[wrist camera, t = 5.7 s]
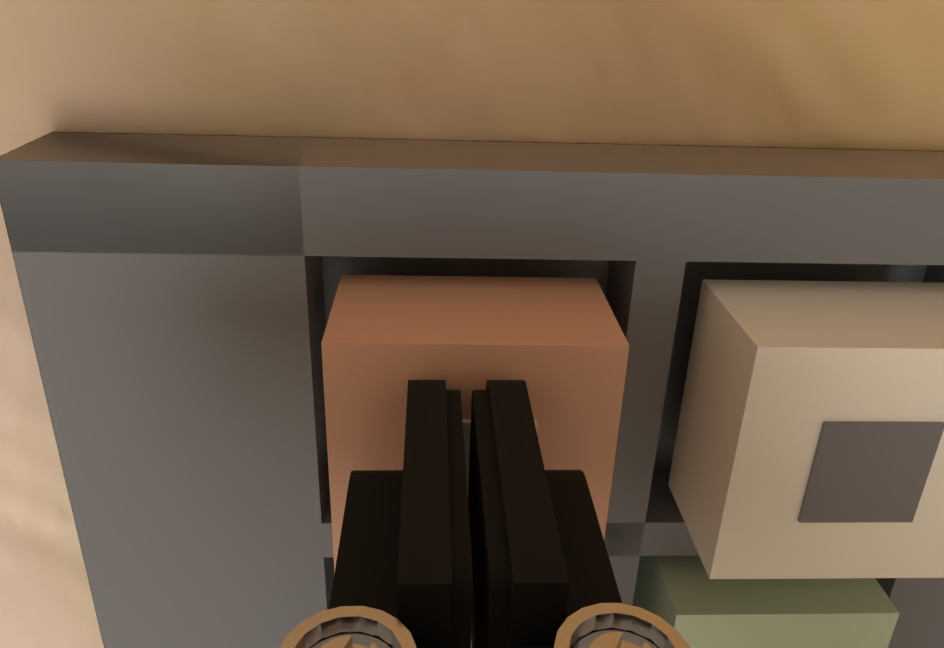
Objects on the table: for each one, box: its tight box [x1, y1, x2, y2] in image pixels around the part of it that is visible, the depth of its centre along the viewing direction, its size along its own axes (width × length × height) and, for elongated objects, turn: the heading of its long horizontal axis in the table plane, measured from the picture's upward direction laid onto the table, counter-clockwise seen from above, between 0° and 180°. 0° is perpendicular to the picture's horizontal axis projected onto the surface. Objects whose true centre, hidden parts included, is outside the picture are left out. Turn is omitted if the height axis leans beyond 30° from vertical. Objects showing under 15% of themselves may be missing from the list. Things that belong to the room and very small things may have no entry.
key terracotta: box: [321, 275, 629, 573], centre depth 13 cm, size 4×4×3 cm
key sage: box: [632, 556, 900, 648], centre depth 16 cm, size 4×4×3 cm
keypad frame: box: [0, 132, 944, 648], centre depth 16 cm, size 20×14×2 cm
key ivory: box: [668, 279, 944, 579], centre depth 13 cm, size 4×4×3 cm
